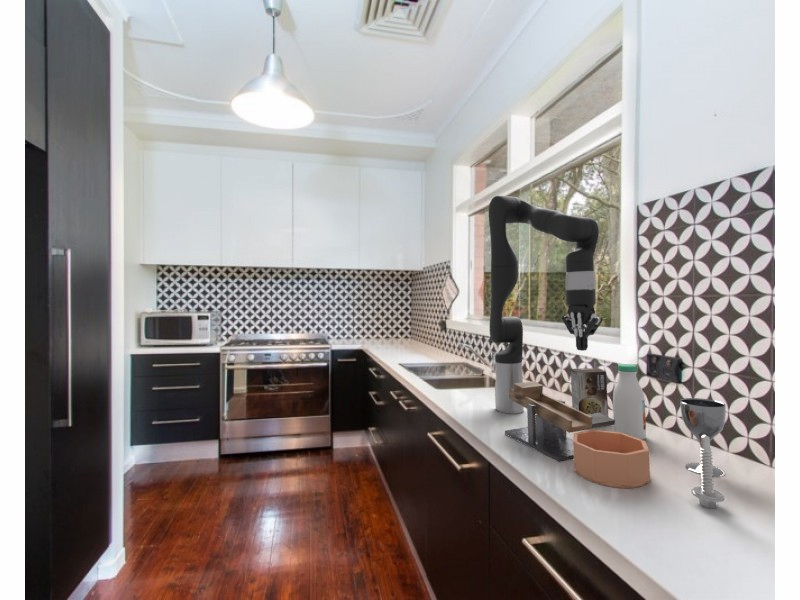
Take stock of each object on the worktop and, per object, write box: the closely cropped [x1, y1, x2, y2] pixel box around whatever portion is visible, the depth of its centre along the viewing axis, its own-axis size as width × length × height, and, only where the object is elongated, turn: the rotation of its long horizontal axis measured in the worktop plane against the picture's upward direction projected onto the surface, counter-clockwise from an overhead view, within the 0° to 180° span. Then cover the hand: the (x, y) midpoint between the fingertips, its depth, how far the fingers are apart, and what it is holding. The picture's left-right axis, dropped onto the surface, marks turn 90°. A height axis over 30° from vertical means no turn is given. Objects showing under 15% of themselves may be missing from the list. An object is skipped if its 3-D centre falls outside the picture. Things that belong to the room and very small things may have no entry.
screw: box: [690, 435, 726, 509], centre depth 72 cm, size 13×5×5 cm
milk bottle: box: [612, 363, 647, 441], centre depth 108 cm, size 8×8×20 cm
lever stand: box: [504, 399, 574, 463], centre depth 105 cm, size 22×12×11 cm, turn 20°
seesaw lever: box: [509, 381, 615, 433], centre depth 106 cm, size 24×15×5 cm, turn 20°
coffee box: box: [570, 367, 609, 417], centre depth 124 cm, size 9×6×16 cm
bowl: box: [572, 429, 651, 489], centre depth 86 cm, size 14×14×7 cm
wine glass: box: [679, 397, 727, 478], centre depth 86 cm, size 8×8×15 cm
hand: (582, 350), depth 108 cm, fingers closed
